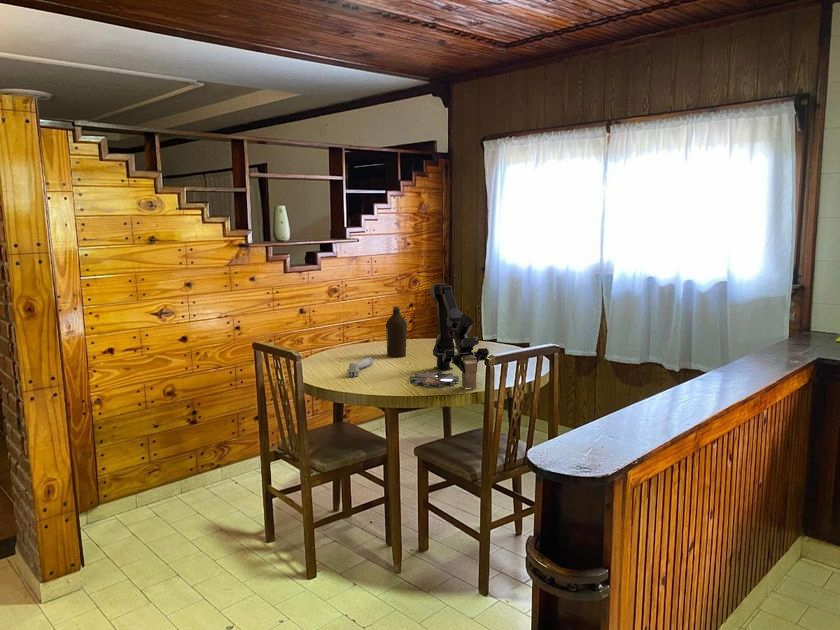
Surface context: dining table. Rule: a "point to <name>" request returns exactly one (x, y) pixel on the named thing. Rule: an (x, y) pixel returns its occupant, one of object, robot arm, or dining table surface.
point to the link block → (469, 371)
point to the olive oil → (396, 334)
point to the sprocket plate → (433, 379)
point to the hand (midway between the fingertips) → (470, 372)
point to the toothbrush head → (359, 366)
